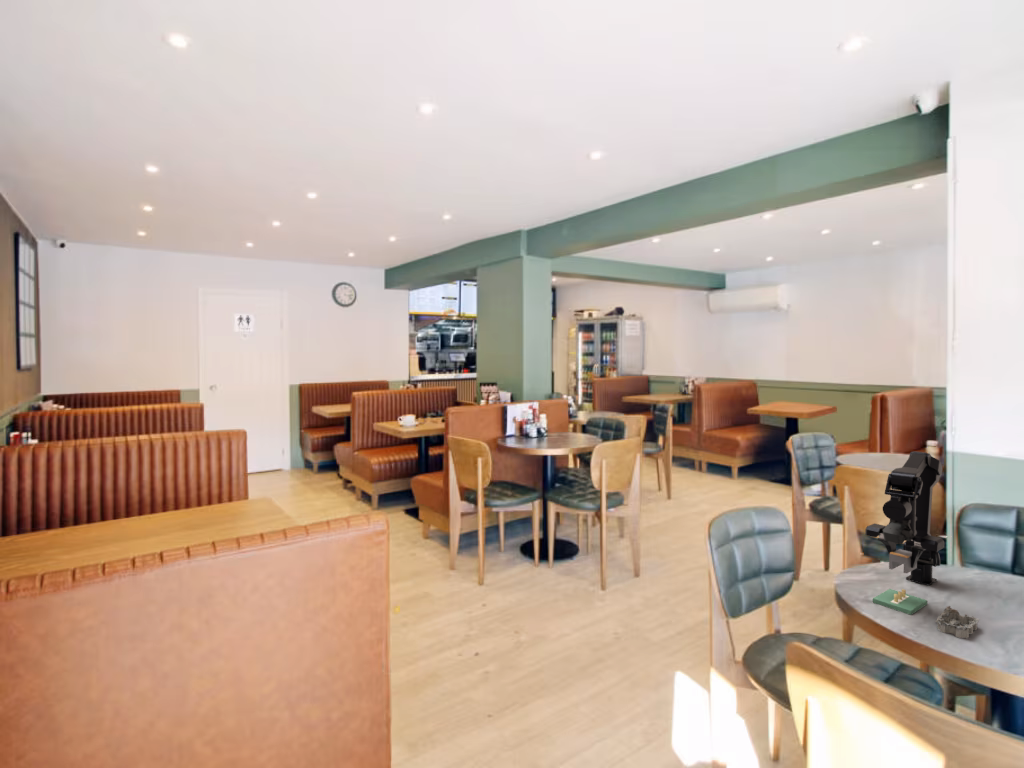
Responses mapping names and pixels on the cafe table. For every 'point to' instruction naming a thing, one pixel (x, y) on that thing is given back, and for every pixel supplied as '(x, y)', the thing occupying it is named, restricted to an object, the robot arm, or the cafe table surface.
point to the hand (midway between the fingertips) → (902, 565)
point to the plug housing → (901, 560)
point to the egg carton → (956, 623)
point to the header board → (900, 601)
